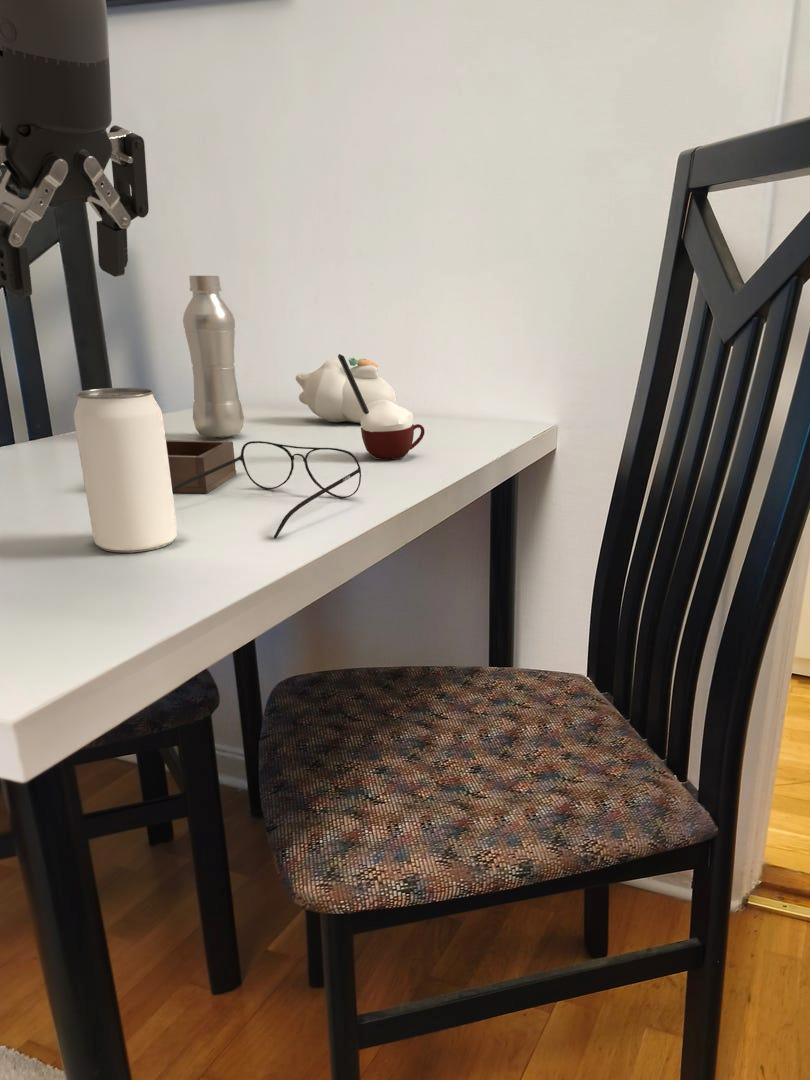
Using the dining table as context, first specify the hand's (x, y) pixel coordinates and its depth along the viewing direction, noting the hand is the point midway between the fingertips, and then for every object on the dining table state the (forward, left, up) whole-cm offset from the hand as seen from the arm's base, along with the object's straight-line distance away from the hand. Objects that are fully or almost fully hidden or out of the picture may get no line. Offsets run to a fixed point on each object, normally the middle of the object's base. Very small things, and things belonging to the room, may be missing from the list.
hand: (67, 282), depth 69 cm
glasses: (+11, +8, -20) cm, 24 cm away
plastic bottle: (-6, +45, -20) cm, 50 cm away
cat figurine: (+8, +60, -20) cm, 64 cm away
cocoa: (+18, +34, -20) cm, 44 cm away
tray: (-1, +18, -20) cm, 27 cm away
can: (+4, -4, -20) cm, 21 cm away
